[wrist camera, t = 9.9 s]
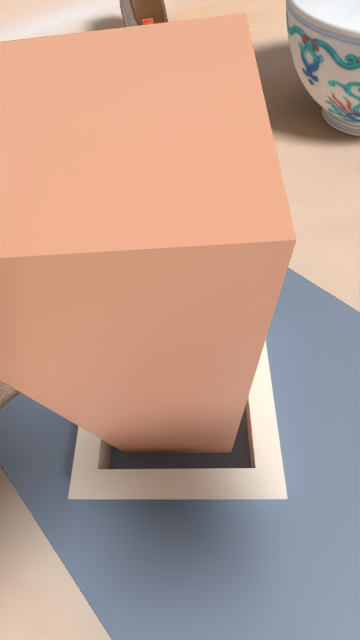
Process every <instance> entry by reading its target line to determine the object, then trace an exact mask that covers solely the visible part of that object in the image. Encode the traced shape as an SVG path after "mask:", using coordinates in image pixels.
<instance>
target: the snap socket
mask: <svg viewBox="0 0 360 640" xmlns="http://www.w3.org/2000/svg"><path fill="white" fill-rule="evenodd" d="M245 408H246V419H247V429H248V440H249V450H250V461H251V468H210V469H109V467H110V457H111V447H112V445H110V444H109V443H107V442H105V441H103V440H102V439H100V438H98V437H97V436H95V435H93V434H91V433H90V432H88V431H86V430H85V429H83V428H81V427H79V426H78V433H77V440H76V447H75V454H74V461H73V467H72V474H71V481H70V488H69V495H68V499H80V500H280V499H288V498H287V491H286V484H285V476H284V469H283V462H282V455H281V448H280V440H279V433H278V426H277V419H276V412H275V404H274V397H273V390H272V383H271V376H270V368H269V361H268V354H267V347H266V340H265V343H264V347H263V350H262V353H261V356H260V360H259V363H258V366H257V369H256V373H255V376H254V379H253V383H252V386H251V389H250V392H249V396H248V399H247V402H246V405H245Z"/></svg>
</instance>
